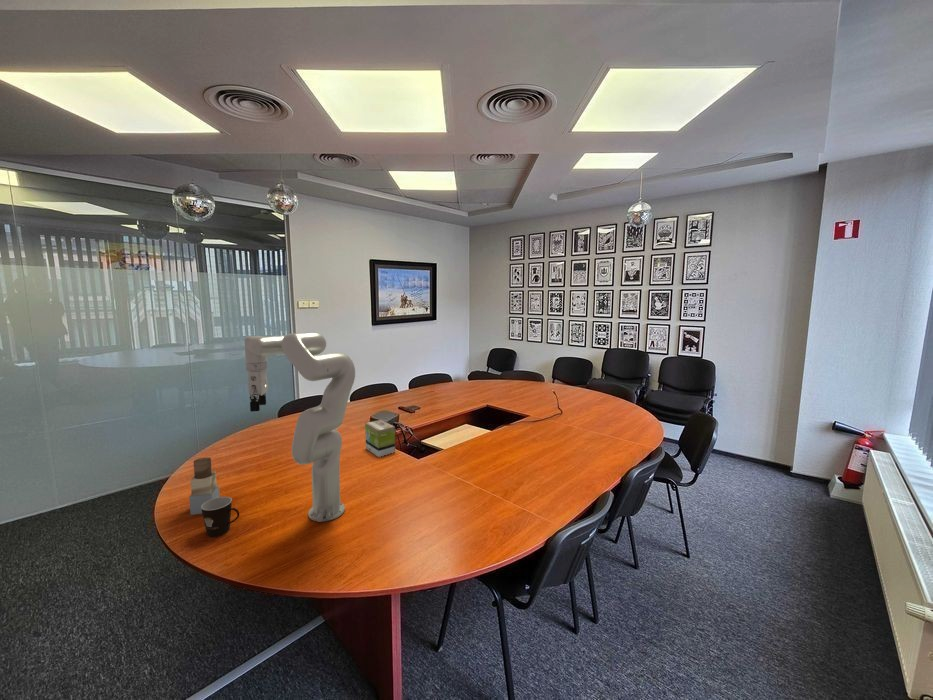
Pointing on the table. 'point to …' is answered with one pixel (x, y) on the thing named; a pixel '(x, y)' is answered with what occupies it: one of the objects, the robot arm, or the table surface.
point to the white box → (201, 501)
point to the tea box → (380, 437)
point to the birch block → (203, 485)
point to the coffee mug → (217, 515)
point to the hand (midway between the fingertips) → (258, 407)
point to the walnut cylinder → (202, 468)
